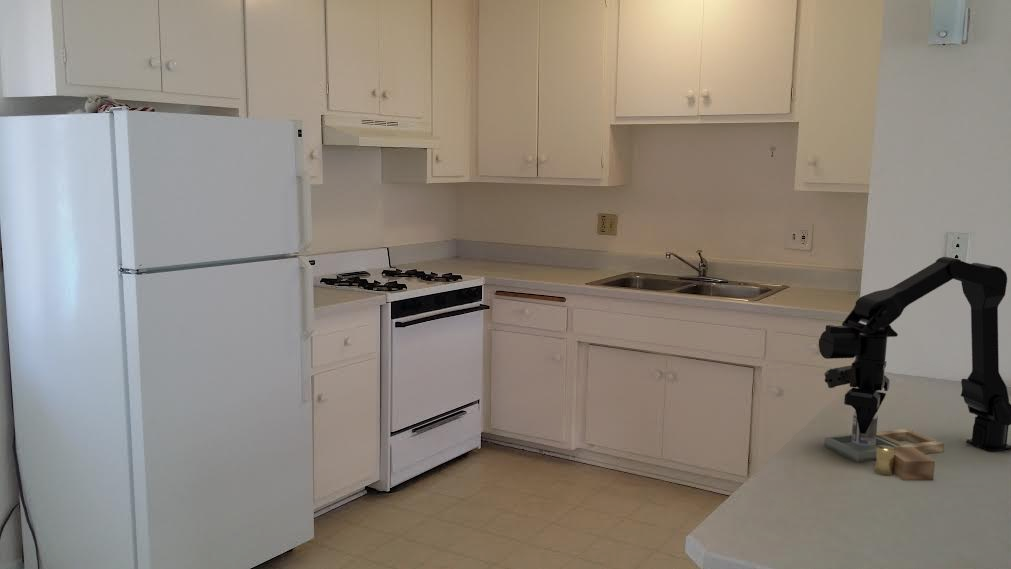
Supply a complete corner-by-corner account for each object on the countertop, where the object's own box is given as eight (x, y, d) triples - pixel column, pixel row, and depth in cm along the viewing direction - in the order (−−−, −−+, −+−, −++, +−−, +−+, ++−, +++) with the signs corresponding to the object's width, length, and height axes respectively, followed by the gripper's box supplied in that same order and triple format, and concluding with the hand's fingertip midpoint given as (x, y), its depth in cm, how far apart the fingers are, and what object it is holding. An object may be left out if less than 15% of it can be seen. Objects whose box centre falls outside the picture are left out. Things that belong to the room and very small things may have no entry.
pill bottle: (879, 443, 179) (883, 404, 177) (868, 448, 176) (871, 408, 174) (858, 437, 182) (861, 399, 181) (846, 441, 179) (849, 403, 178)
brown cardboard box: (911, 466, 172) (913, 447, 171) (933, 481, 164) (935, 461, 163) (882, 466, 172) (884, 447, 171) (902, 481, 164) (904, 461, 163)
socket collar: (906, 436, 189) (907, 428, 189) (943, 451, 180) (943, 443, 180) (869, 440, 186) (869, 432, 186) (903, 456, 177) (904, 448, 176)
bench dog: (884, 468, 169) (886, 444, 169) (896, 474, 166) (898, 449, 166) (871, 470, 168) (873, 445, 168) (883, 476, 165) (885, 451, 165)
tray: (866, 441, 186) (866, 432, 185) (900, 456, 176) (901, 447, 176) (824, 446, 182) (825, 437, 182) (857, 462, 173) (858, 452, 172)
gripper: (837, 343, 188) (832, 412, 190) (820, 361, 172) (815, 435, 175) (892, 350, 182) (886, 420, 185) (880, 368, 167) (873, 445, 169)
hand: (864, 429), depth 178 cm, fingers closed on pill bottle, 5 cm apart
